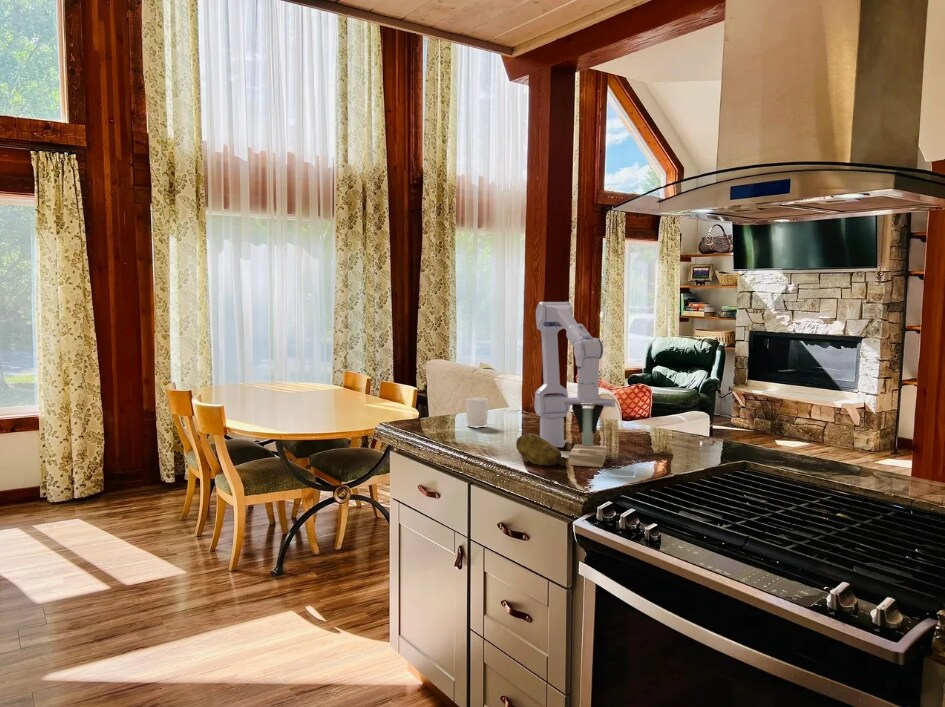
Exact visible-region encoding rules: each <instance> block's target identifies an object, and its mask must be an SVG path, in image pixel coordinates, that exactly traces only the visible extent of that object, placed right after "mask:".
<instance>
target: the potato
mask: <svg viewBox="0 0 945 707" xmlns="http://www.w3.org/2000/svg"><path fill="white" fill-rule="evenodd" d="M515 444H516V445H515V446H516V450H517V451H518V452H519V453H520V455H521V456H522V457H523V459H527V460H528V461H529V462H530V464H533V465H535V464H538V465H537V466H541V465H545V466H544V467H550V466H551V465H553V466H556V465H557V464H560V463H561V462H562V455H561V452H560V451H561V450H559V449H558V447H554V446H553V445H551V444H550V443H548V442H547V441H546V440H544V439H542V438H541V437H540V435H538V434H535V433H532V432H528V433H524V434H522V435H520V436H519V437H518V438H517V439H516V443H515ZM551 467H552V466H551Z"/></svg>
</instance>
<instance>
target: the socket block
mask: <svg viewBox="0 0 945 707" xmlns="http://www.w3.org/2000/svg"><path fill="white" fill-rule="evenodd" d="M569 452H570V454H569V458H568V466H582V467H596V468H597V467H599V468H602V467H603V466H604V464H605V461H606V458H607V446H606V445H594V444H593V446H583V445H582V444H574V445H573V447H572V449H571V450H570V451H569Z"/></svg>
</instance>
